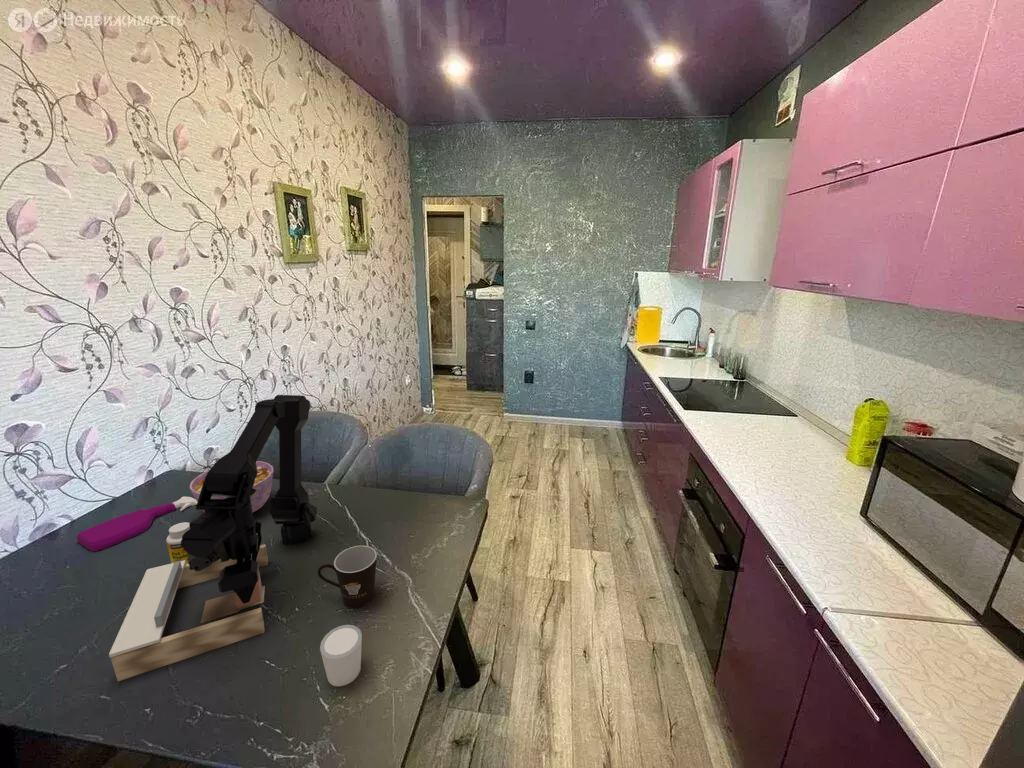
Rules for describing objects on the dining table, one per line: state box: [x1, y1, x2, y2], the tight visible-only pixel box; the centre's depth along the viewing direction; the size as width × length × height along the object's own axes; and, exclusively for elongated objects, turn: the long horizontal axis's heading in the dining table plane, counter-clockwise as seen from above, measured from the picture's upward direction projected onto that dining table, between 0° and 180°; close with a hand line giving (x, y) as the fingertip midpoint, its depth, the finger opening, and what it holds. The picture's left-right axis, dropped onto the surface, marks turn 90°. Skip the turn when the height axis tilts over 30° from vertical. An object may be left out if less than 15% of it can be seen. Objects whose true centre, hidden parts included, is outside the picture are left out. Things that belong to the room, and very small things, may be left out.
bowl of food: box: [188, 460, 274, 514], centre depth 117 cm, size 20×20×12 cm
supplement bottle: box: [166, 521, 191, 564], centre depth 96 cm, size 6×6×10 cm
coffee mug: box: [317, 545, 378, 609], centre depth 89 cm, size 12×9×10 cm
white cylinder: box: [319, 624, 363, 687], centre depth 72 cm, size 7×7×7 cm
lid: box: [108, 560, 186, 658], centre depth 78 cm, size 6×22×3 cm, turn 29°
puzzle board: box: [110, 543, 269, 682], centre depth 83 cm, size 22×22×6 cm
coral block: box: [234, 572, 263, 608], centre depth 86 cm, size 4×4×4 cm
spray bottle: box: [76, 495, 198, 552], centre depth 112 cm, size 3×11×24 cm
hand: (248, 587), depth 86 cm, fingers open, 9 cm apart
